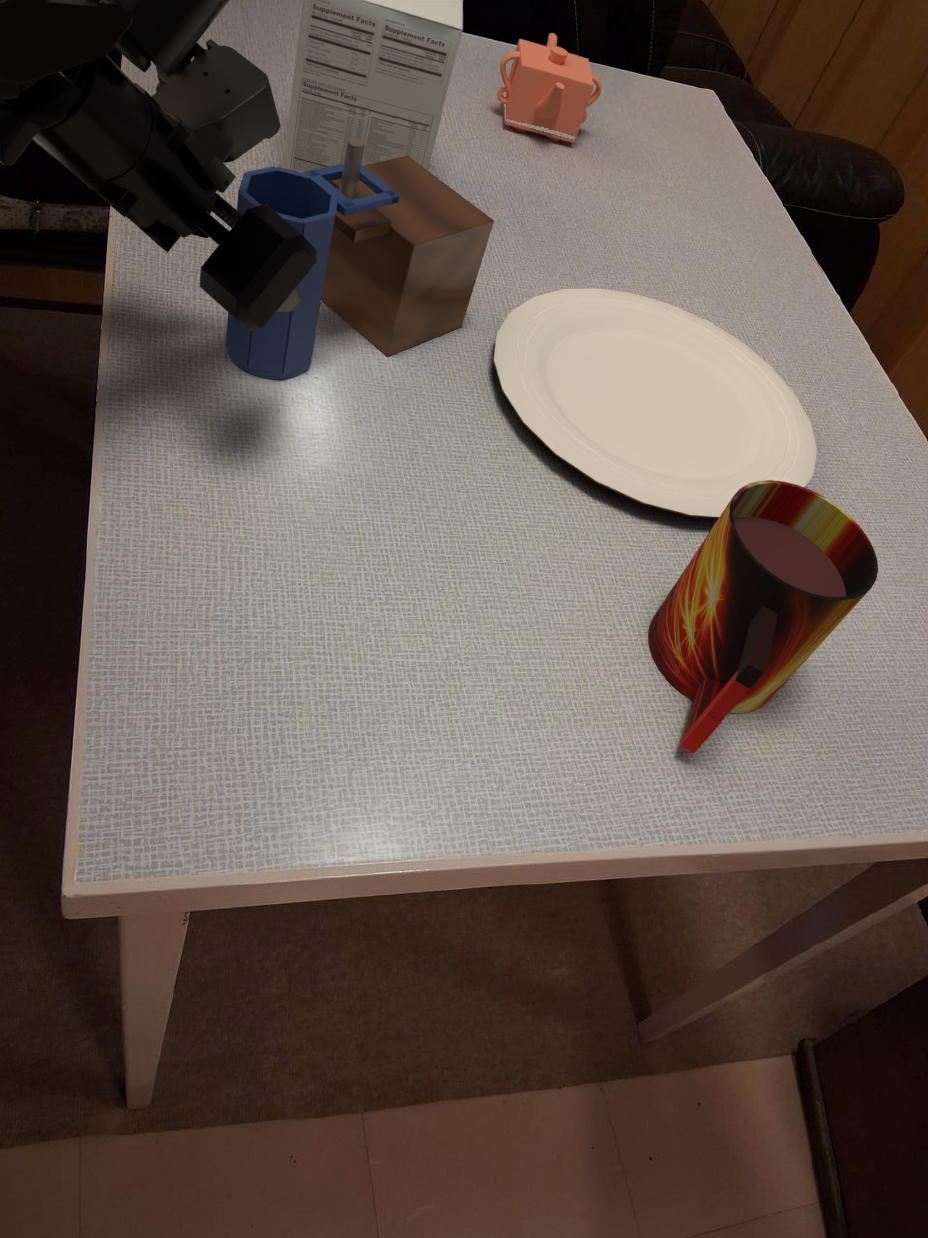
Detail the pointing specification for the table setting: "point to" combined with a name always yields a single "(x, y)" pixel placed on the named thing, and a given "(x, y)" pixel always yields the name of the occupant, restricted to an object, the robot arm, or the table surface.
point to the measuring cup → (312, 214)
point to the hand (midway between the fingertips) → (251, 267)
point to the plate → (650, 399)
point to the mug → (758, 600)
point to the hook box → (403, 255)
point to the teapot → (547, 88)
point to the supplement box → (370, 79)
